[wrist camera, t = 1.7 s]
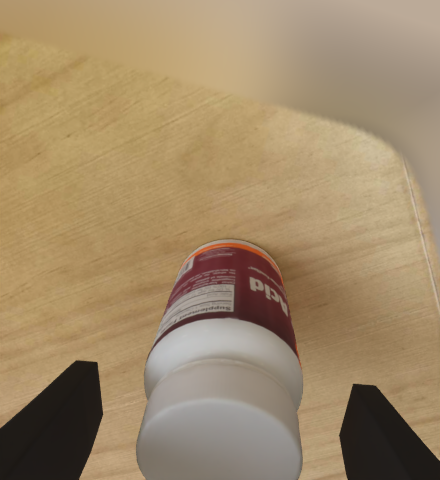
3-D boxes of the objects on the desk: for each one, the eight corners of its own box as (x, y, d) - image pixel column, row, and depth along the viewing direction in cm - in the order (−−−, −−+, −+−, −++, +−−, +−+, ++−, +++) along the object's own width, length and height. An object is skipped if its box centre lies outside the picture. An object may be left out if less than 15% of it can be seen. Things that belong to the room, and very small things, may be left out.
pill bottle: (298, 307, 16) (348, 502, 9) (206, 339, 17) (177, 539, 10) (258, 218, 15) (275, 362, 7) (158, 259, 16) (79, 424, 8)
